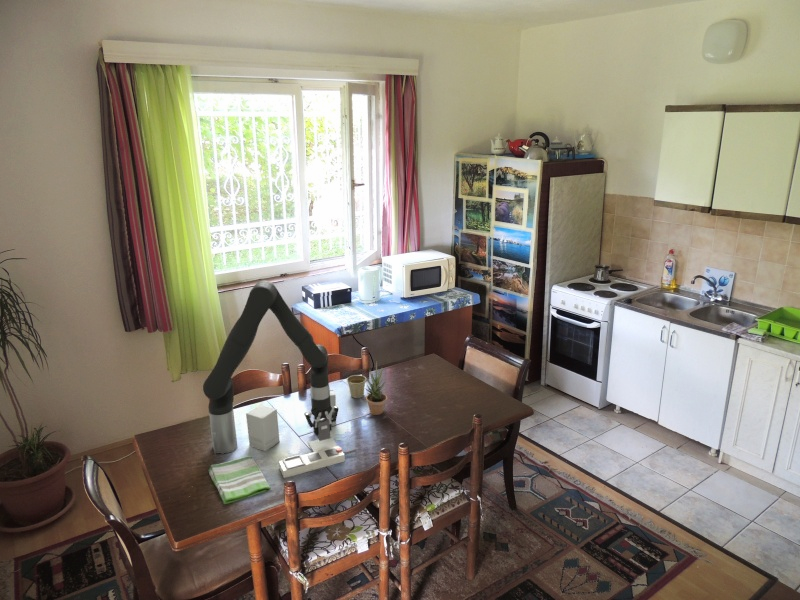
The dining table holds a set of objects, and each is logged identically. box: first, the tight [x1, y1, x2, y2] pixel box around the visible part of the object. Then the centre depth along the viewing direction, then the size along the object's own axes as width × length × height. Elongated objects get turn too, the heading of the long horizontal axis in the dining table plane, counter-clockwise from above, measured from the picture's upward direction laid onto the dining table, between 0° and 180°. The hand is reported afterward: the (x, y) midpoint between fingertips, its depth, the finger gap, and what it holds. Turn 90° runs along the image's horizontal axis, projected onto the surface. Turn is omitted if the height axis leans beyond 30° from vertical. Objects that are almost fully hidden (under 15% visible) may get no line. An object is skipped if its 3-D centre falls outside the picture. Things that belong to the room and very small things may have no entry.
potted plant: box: [364, 361, 388, 416], centre depth 253 cm, size 10×10×25 cm
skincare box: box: [329, 389, 337, 427], centre depth 245 cm, size 8×6×15 cm
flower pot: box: [346, 374, 367, 399], centre depth 271 cm, size 9×9×9 cm
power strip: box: [278, 445, 357, 479], centre depth 218 cm, size 30×7×4 cm, turn 116°
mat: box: [307, 435, 339, 453], centre depth 229 cm, size 10×10×1 cm
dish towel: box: [207, 455, 271, 505], centre depth 208 cm, size 17×23×4 cm
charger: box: [315, 418, 331, 441], centre depth 227 cm, size 4×5×8 cm
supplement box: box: [245, 404, 281, 452], centre depth 230 cm, size 9×9×15 cm
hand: (323, 432), depth 228 cm, fingers closed on charger, 4 cm apart
